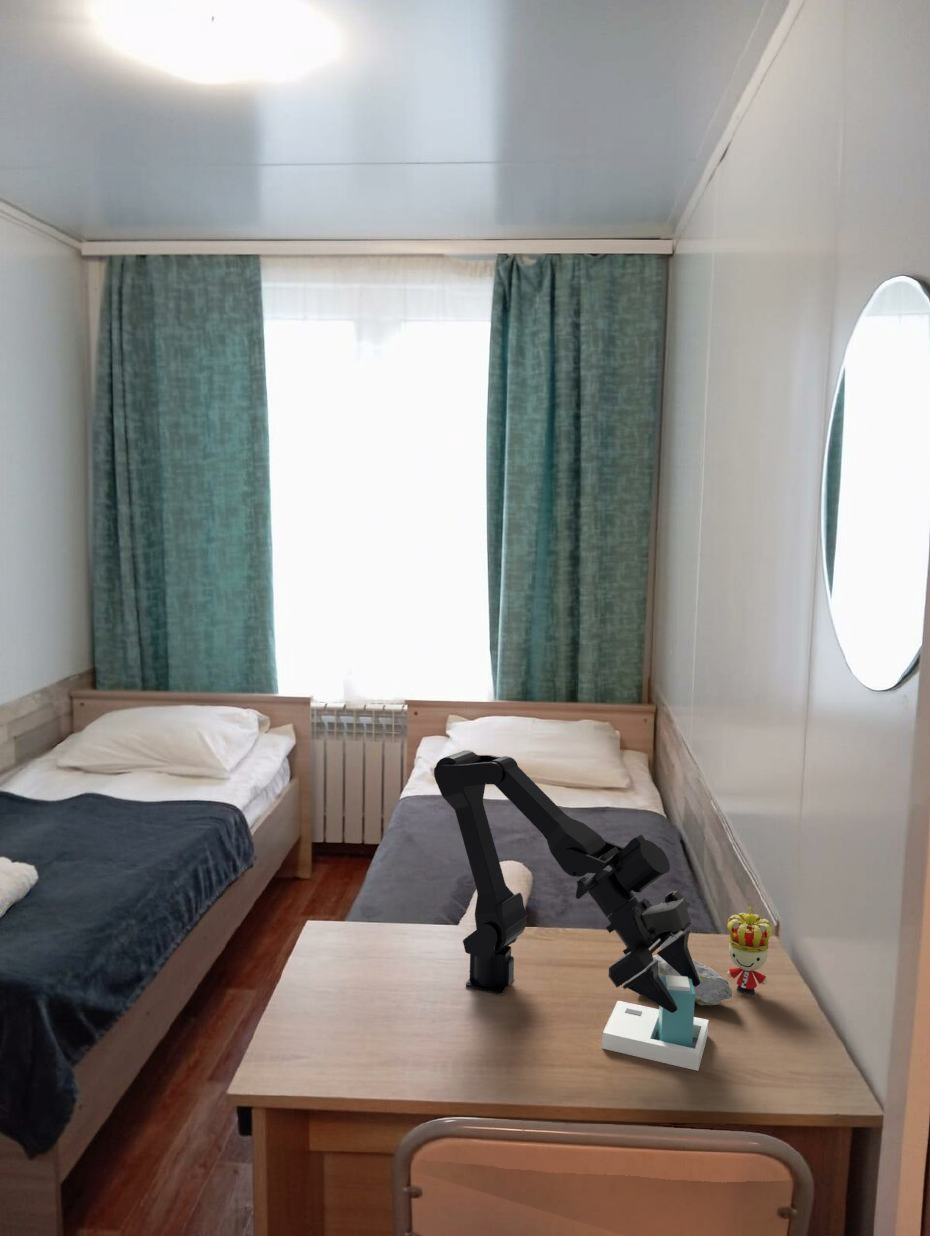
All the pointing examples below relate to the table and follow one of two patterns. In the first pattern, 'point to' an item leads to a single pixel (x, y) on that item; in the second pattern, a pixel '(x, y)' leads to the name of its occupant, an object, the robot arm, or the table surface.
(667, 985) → the plug
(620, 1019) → the socket plate
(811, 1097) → the table surface
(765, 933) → the toy
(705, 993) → the rock
